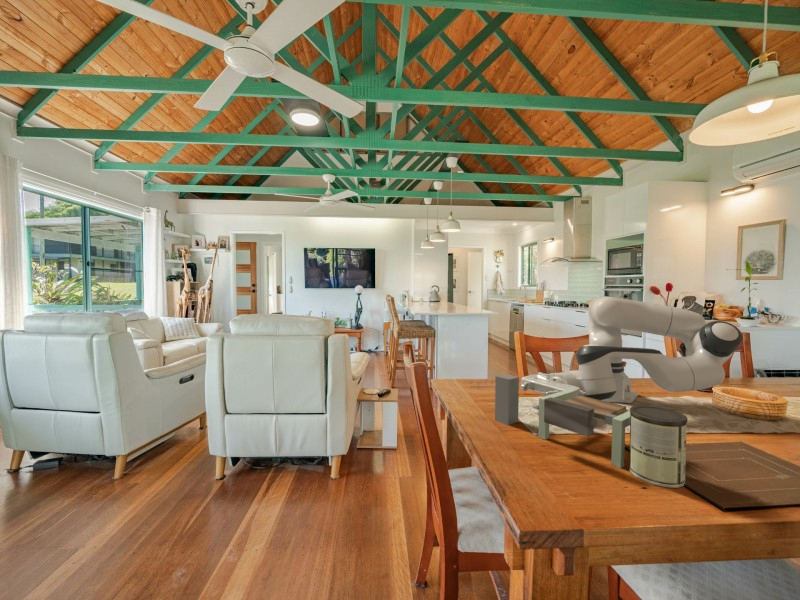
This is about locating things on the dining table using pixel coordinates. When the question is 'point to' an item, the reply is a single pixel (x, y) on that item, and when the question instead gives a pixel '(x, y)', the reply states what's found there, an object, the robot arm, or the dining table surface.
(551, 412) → the trapdoor
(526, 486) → the dining table surface
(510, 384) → the tall grey upright prism
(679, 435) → the coffee can
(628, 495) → the dining table surface
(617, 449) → the frame
